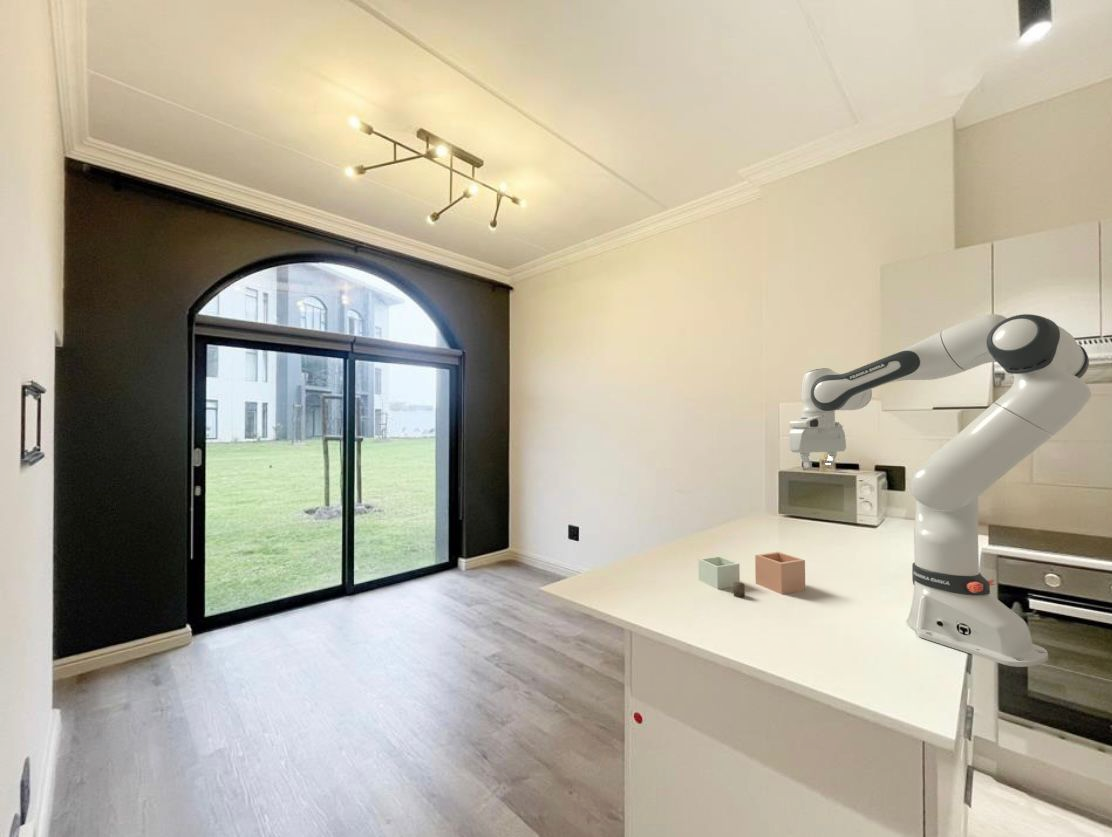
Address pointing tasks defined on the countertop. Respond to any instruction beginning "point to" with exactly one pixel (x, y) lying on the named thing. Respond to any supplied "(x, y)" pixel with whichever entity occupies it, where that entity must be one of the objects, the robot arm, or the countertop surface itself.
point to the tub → (718, 572)
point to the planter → (780, 572)
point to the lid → (739, 589)
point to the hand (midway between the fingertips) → (818, 466)
